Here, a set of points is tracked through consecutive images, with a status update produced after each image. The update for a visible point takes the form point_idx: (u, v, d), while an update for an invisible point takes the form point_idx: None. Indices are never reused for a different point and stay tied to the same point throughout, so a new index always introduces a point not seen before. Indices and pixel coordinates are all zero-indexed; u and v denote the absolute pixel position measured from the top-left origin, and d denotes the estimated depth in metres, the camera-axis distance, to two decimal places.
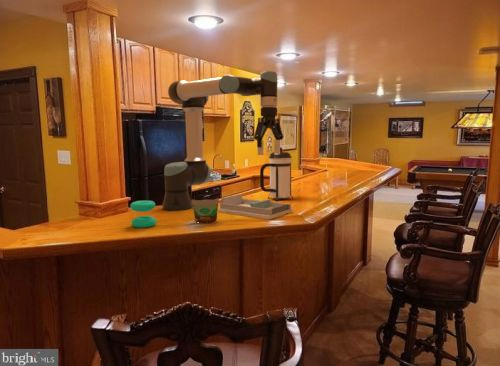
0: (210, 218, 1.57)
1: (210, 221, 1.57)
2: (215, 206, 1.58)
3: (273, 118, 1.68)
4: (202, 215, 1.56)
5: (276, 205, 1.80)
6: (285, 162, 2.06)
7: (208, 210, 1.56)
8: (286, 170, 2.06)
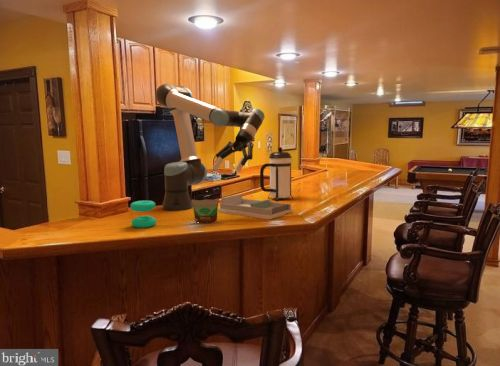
0: (210, 218, 1.57)
1: (210, 221, 1.57)
2: (215, 206, 1.58)
3: None
4: (202, 215, 1.56)
5: (276, 205, 1.80)
6: (285, 162, 2.06)
7: (208, 210, 1.56)
8: (286, 170, 2.06)
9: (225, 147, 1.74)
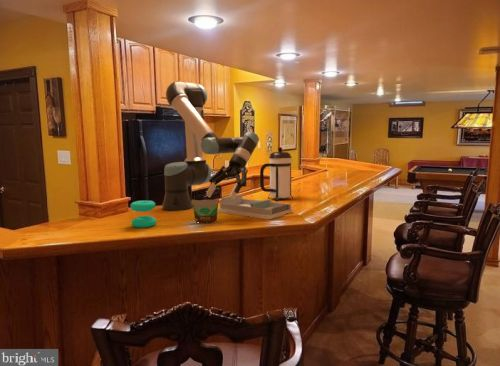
0: (210, 218, 1.57)
1: (210, 221, 1.57)
2: (215, 206, 1.58)
3: None
4: (202, 215, 1.56)
5: (276, 205, 1.80)
6: (285, 162, 2.06)
7: (208, 210, 1.56)
8: (286, 170, 2.06)
9: (218, 172, 1.70)
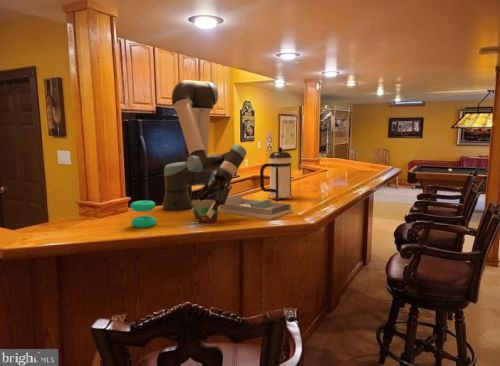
0: (211, 218, 1.56)
1: (211, 221, 1.57)
2: None
3: None
4: (204, 215, 1.55)
5: (276, 205, 1.80)
6: (285, 162, 2.06)
7: None
8: (286, 170, 2.06)
9: (204, 187, 1.64)
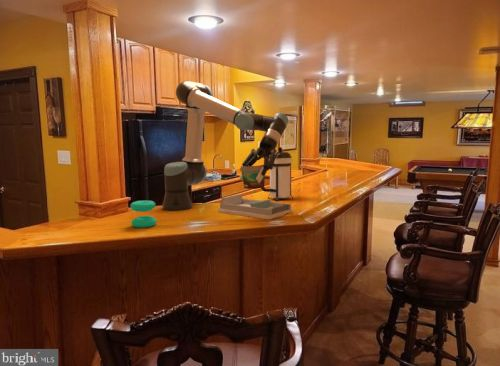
0: (260, 183, 1.63)
1: (260, 186, 1.63)
2: None
3: None
4: (252, 181, 1.62)
5: (276, 205, 1.80)
6: (285, 162, 2.06)
7: None
8: (286, 170, 2.06)
9: (250, 155, 1.70)
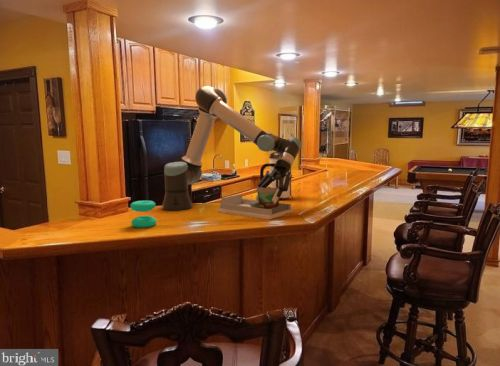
0: (275, 204, 1.71)
1: None
2: None
3: None
4: (268, 201, 1.70)
5: None
6: None
7: None
8: None
9: (265, 176, 1.79)
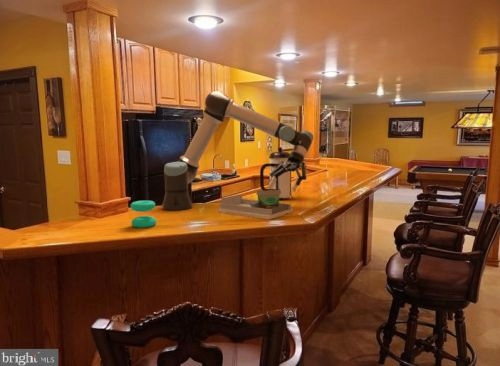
0: None
1: None
2: (278, 196, 1.73)
3: None
4: (268, 204, 1.70)
5: None
6: (285, 162, 2.06)
7: (274, 199, 1.70)
8: None
9: (278, 167, 1.89)
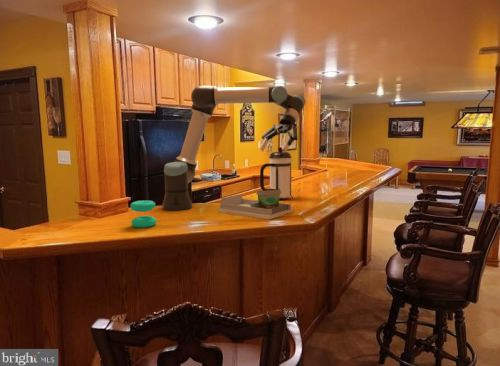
0: None
1: None
2: (278, 196, 1.73)
3: None
4: (268, 204, 1.70)
5: None
6: (285, 162, 2.06)
7: (274, 199, 1.70)
8: (286, 170, 2.06)
9: (270, 130, 1.89)
